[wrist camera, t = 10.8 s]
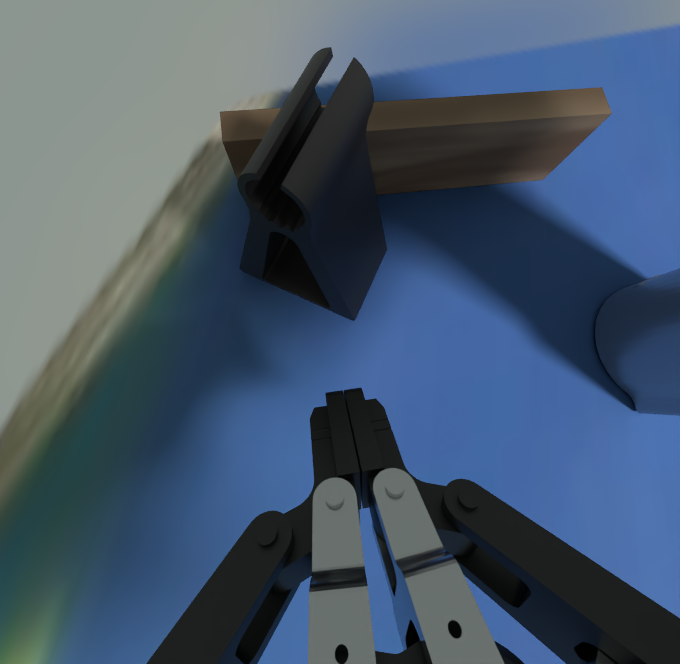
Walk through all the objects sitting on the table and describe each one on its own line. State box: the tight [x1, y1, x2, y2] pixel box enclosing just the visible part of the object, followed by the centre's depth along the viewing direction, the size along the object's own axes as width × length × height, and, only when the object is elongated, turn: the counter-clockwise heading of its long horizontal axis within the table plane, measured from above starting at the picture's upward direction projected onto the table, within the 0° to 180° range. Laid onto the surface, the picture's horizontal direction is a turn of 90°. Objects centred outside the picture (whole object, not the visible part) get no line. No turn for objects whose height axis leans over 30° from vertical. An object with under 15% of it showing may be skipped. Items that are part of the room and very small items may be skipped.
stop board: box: [220, 87, 612, 195], centre depth 21 cm, size 2×24×6 cm, turn 98°
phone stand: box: [238, 48, 387, 321], centre depth 16 cm, size 9×6×12 cm, turn 66°
